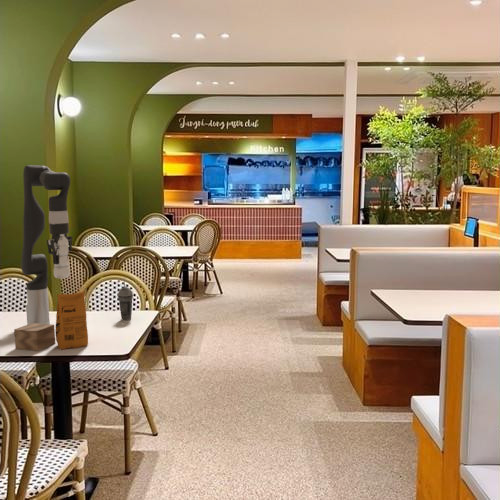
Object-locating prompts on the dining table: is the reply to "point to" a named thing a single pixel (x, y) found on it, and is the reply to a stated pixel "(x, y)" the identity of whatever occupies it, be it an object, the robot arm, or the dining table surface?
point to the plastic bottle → (62, 259)
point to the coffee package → (71, 321)
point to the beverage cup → (125, 302)
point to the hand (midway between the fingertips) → (61, 262)
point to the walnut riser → (34, 336)
